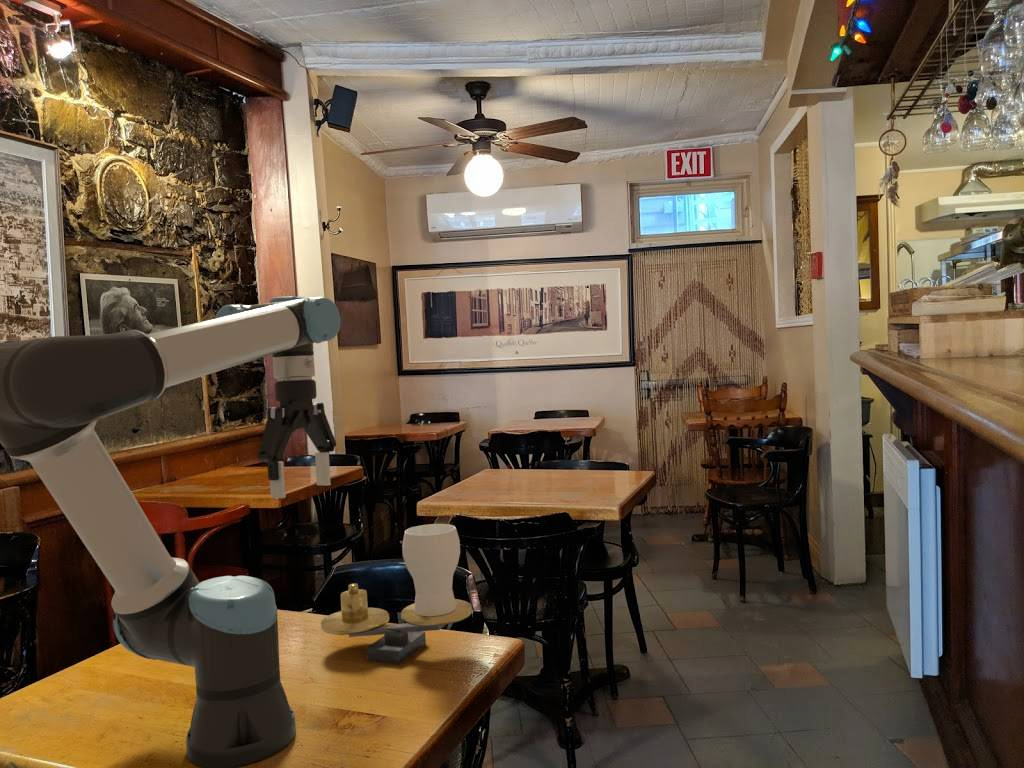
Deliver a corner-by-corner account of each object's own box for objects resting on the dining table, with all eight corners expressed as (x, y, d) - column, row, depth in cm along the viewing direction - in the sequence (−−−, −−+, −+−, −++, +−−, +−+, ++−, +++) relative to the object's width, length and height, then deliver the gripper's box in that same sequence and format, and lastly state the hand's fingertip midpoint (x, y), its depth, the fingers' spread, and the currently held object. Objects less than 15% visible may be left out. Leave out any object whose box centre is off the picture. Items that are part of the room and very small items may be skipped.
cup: (460, 618, 131) (455, 534, 131) (401, 620, 131) (396, 537, 131) (466, 599, 142) (461, 521, 141) (411, 601, 142) (407, 524, 142)
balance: (455, 674, 128) (451, 603, 128) (308, 657, 140) (304, 593, 140) (485, 646, 140) (481, 582, 140) (347, 633, 152) (344, 573, 152)
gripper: (266, 380, 126) (274, 504, 126) (349, 376, 149) (356, 480, 150) (231, 382, 129) (239, 503, 129) (318, 378, 152) (325, 480, 152)
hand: (302, 491), depth 139 cm, fingers open, 13 cm apart
